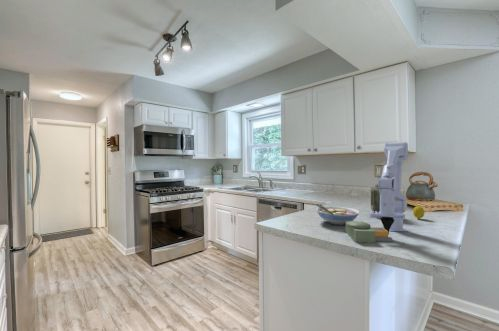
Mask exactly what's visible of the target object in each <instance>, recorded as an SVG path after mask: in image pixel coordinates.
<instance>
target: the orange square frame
mask: <svg viewBox="0 0 499 331" xmlns="http://www.w3.org/2000/svg"><path fill="white" fill-rule="evenodd" d="M370 228H371V229H373V230H374V231H375V237H389V235H388V231H387V230H386V229H384V227H379V226H377V227H375V226H372V227H371V226H370Z"/></svg>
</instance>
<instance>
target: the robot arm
mask: <svg viewBox="0 0 499 331" xmlns="http://www.w3.org/2000/svg"><path fill="white" fill-rule="evenodd" d="M383 153H384V155H385V158H386V161H387V162H386V164H385V165H384V166H383V168H382V173H381V176H380V177H381V178H379V177H378V180H377V181H378V183H377V184H378V187H377V188H379V193H380V212H377V211H376V212H375V213H373V212H369V213H368V217H369V218H371V219H376V218H378V219H379V220H380V222H381V224H382V225H381V226H382V228H384V229H386V230H387V231H388V236H389V235H390V232H407V231H408V230H406V229H405V228H404V219H406V213H405V212H407V209H408V204H407V203H408V201H407V196H406V195H404V194H403V193H402V191H401V189H402V188H401V187H402V170H403V167H402V166H403V162H404V161H405V160H407V159H408V156H409V155H408V154H409V144H408V142H407V141H404V142H386V143H384V145H383Z"/></svg>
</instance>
